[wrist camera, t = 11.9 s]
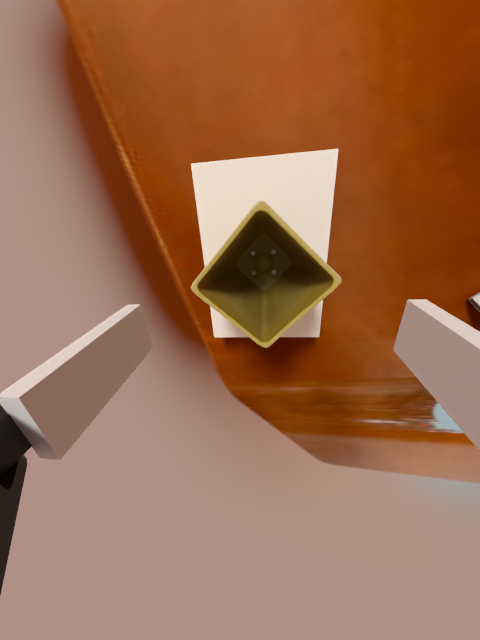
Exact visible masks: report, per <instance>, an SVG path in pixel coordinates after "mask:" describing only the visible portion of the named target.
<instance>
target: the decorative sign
mask: <svg viewBox="0 0 480 640" xmlns="http://www.w3.org/2000/svg"><path fill="white" fill-rule="evenodd" d="M468 299H469V301H470V302H471V303H472V304H473V305H474V306H475V307H476V309H477V310H478V311H479V312H480V292H479V293H477V294H475V295H474V296H472V297H470V298H468Z"/></svg>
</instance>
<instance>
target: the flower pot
mask: <svg viewBox="0 0 480 640" xmlns="http://www.w3.org/2000/svg"><path fill="white" fill-rule="evenodd" d="M272 250H276V254H275V255H272V254H271V251H272ZM252 251H255V252H256V254H255V256H252V255H251V252H252ZM272 270H275V271H276V274H275V275H273V274H272V273H271V272H272ZM253 271H256V273H257V274H256V275H255V276H253V275H252V272H253ZM341 282H342V279H341V277H340V276H339V275H338V274H337V273H336V272H335V271H334V270H333V269H332V268H331V267H330V266H329V265H328V264H327V263H326V262H325V261H324V260H323V259H322V258H321V257H320V256H319V255H317V254H316V253H315V252H314V251H313V250H312V249H311V248H310V247H309V246H308V244H307V243H306V242H305V241H304V240H303V239H302V238H301V237H300V236H299V235H298V234H297V233H296V232H295V231H293V230H292V229H291V227H290V226H289V225H288V224H287V223H286V222H285V221H284V220H283V219H282V218H281V217H280V216H279V215H278V214H277V213H276V212H275V211H274V210H273V209H272V208H271V207H270V206H269V205H268V204H267V203H265V202H264V201H258V202H257V203H256V204H255V205H254V206H253V207H252V208H251V210H250V211H249V212H248V214H247V215H246V216H245V217H244V219H243V220H242V221H241V223H240V224H239V225H238V227H237V228H236V229H235V230H234V232H233V233H232V234H231V236H230V237H229V238H228V239H227V241H226V242H225V243H224V244H223V246H222V247H221V248H220V249H219V251H218V252H217V253H216V255H215V256H214V257H213V258H212V260H211V261H210V262H209V263H208V265H207V266H206V267H205V268H204V269H203V271H202V272H201V273H200V274H199V275H198V277H197V278H196V279H195V281H194V282H193V284H192V286H191V290H192V291H193V292H194V293H195V294H196V295H197V296H198V297H199V298H201V299H202V300H203V301H204V302H206V303H207V304H208V305H210V306H211V307H212V308H214V309H215V310H216V311H217V312H219V313H220V314H221V315H222V316H224V317H225V318H226V319H227V320H229V321H230V322H231V323H232V324H234V325H235V326H236V327H237V328H239V329H240V330H241V331H242V332H243V333H244V334H246V335H247V336H248V337H249V338H251V339H252V340H253V341H254V342H255V343H257V344H258V345H260V346H262V347H264V348H267V347H269V346H270V345H272V344H273V343H274V342H275V341H276V340H277V339H278V338H279V337H280V336H282V334H284V333H285V332H286V331H287V330H288V329H289V328H290V327H291V326H292V325H293V324H294V323H296V322H297V321H298V320H299V319H300V318H301V317H302V316H304V315H305V314H306V313H307V312H308V311H310V310H311V309H312V308H313V307H315V306H316V305H317V304H318V303H319V302H321V301H322V300H323V299H324V298H325V297H326V296H328V295H329V294H330V293H331V292H333V291H334V290H335V289H336V288H337V287H338V286H339V284H340V283H341Z"/></svg>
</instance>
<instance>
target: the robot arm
mask: <svg viewBox="0 0 480 640" xmlns="http://www.w3.org/2000/svg"><path fill="white" fill-rule="evenodd" d="M152 348H153V347H152V343H151V339H150V336H149V332H148V329H147V325H146V322H145V318H144V314H143V311H142V308H141V305H140V304H139V305H126V306H125V307H123V308H122V309H121V310H119V311H118V312H116V313H115V314H113V315H112V316H111V317H109V318H108V319H106V320H105V321H103V322H102V323H100V324H99V325H98V326H96V327H95V328H93V329H92V330H90V331H89V332H87V333H86V334H85V335H83V336H82V337H80V338H79V339H78V340H76V341H75V342H73V343H72V344H70V345H69V346H68V347H66V348H65V349H63V350H62V351H60V352H59V353H57V354H56V355H54V356H53V357H52V358H50V359H49V360H47V361H46V362H44V363H43V364H42V365H40V366H39V367H37V368H36V369H34V370H33V371H31V372H30V373H29V374H27V375H26V376H24V377H23V378H21V379H20V380H18V381H17V382H16V383H14V384H13V385H11V386H10V387H9V388H7V389H6V390H4V391H3V392H1V393H0V594H1V589H2V584H3V579H4V574H5V570H6V565H7V560H8V555H9V550H10V545H11V540H12V535H13V530H14V526H15V520H16V516H17V511H18V506H19V501H20V496H21V491H22V487H23V482H24V477H25V472H26V467H27V459H26V457H25V456H24V453H25V452H26V451H27V450H28V449H29V448H30V447H31V446H32V447H33V449H34V450H35V451H36V453H37V454H38V456H39V457H40V458H46V459H59V460H61V459H62V457H63V456H64V455H65V454H66V452H67V451H68V450H69V449H70V448H71V446H72V445H73V444H74V443H75V442H76V440H77V439H78V438H79V437H80V435H81V434H82V433H83V432H84V431H85V429H86V428H87V427H88V426H89V425H90V423H91V422H92V421H93V420H94V418H95V417H96V416H97V415H98V414H99V412H100V411H101V410H102V409H103V408H104V406H105V405H106V404H107V403H108V401H109V400H110V399H111V398H112V397H113V395H114V394H115V393H116V392H117V391H118V389H119V388H120V387H121V386H122V384H123V383H124V382H125V381H126V380H127V378H128V377H129V376H130V375H131V373H132V372H133V371H134V370H135V369H136V367H137V366H138V365H139V364H140V363H141V361H142V360H143V359H144V358H145V357H146V355H147V354H148V353H149V352H150V350H151V349H152ZM393 350H394V351H395V353H396V354H397V355H398V356H399V357H400V358H401V360H402V361H403V362H404V363H405V364H406V365H407V367H408V368H409V369H410V370H411V371H412V372H413V374H414V375H415V376H416V377H417V378H418V379H419V381H420V382H421V383H422V384H423V385H424V386H425V388H426V389H427V390H428V391H429V392H430V393H431V395H432V396H433V397H434V398H435V399H436V400H437V402H438V403H439V404H440V405H441V406H442V407H443V408H444V410H445V411H446V412H447V413H448V414H449V416H450V417H451V418H452V419H453V420H454V421H455V423H456V424H457V425H458V426H459V427H460V428H461V430H462V431H463V432H464V433H465V434H466V435H467V437H468V438H469V439H470V440H471V441H472V442H473V444H474V445H475V446H476V447H477V448H478V449H479V451H480V332H479V331H478V330H476V329H474V328H473V327H471V326H469V325H468V324H466V323H464V322H463V321H461V320H459V319H458V318H456V317H454V316H453V315H451V314H449V313H448V312H446V311H444V310H443V309H441V308H439V307H438V306H436V305H434V304H433V303H431V302H429V301H428V300H426V299H421V300H407V303H406V306H405V310H404V313H403V317H402V320H401V324H400V328H399V331H398V335H397V338H396V342H395V345H394V349H393Z"/></svg>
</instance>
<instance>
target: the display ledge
mask: <svg viewBox="0 0 480 640" xmlns="http://www.w3.org/2000/svg"><path fill="white" fill-rule="evenodd" d="M337 158H338V149H330V150H320V151H310V152H300V153H290V154H281V155H271V156H261V157H251V158H242V159H232V160H222V161H212V162H202V163H193V164H191V169H192V176H193V183H194V191H195V198H196V206H197V213H198V220H199V228H200V235H201V243H202V250H203V258H204V265H205V267H206V266H207V265H208V263H209V262H210V261H211V260H212V258H213V257H214V256H215V255H216V253H217V252H218V251H219V249H220V248H221V247H222V246H223V244H224V243H225V242H226V241H227V239H228V238H229V237H230V236H231V234H232V233H233V232H234V230H235V229H236V228H237V227H238V225H239V224H240V223H241V221H242V220H243V219H244V217H245V216H246V215H247V214H248V212H249V211H250V210H251V208H252V207H253V206H254V205H255V204H256V203H257V202H258V201H264V202H265V203H267V204H268V205H269V206H270V207H271V208H272V209H273V210H274V211H275V212H276V213H277V214H278V215H279V216H280V217H281V218H282V219H283V220H284V221H285V222H286V223H287V224H288V225H289V226H290V227H291V229H292V230H293V231H295V232H296V233H297V234H298V235H299V236H300V237H301V238H302V239H303V240H304V241H305V242H306V243H307V244H308V246H309V247H310V248H311V249H312V250H313V251H314V252H315V253H316V254H317V255H319V256H320V257H321V258H322V259H323V260H324V261H325V262H326V263H327V255H328V246H329V236H330V226H331V216H332V207H333V197H334V187H335V177H336V168H337ZM255 254H256V252H255V251H252V252H251V255H252V256H255ZM271 254H272V255H275V254H276V250H272V251H271ZM271 273H272V274H273V275H275V274H276V271H275V270H272V272H271ZM256 274H257V273H256V271H253V272H252V275H253V276H255V275H256ZM322 304H323V300H322V301H321V302H319V303H318V304H317V305H316V306H315V307H313V308H312V309H311V310H310V311H308V312H307V313H306V314H305V315H304V316H302V317H301V318H300V319H299V320H298V321H297V322H296V323H294V324H293V325H292V326H291V327H290V328H289V329H288V330H287V331H286V332H285V333H284V334H282V336H280V337H319V333H320V324H321V314H322ZM210 309H211V317H212V324H213V332H214V337H248V336H247V335H246V334H244V333H243V332H242V331H241V330H240V329H239V328H237V327H236V326H235V325H234V324H232V323H231V322H230V321H229V320H227V319H226V318H225V317H224V316H222V315H221V314H220V313H219V312H217V311H216V310H215V309H214V308H212V307H211V306H210Z"/></svg>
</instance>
